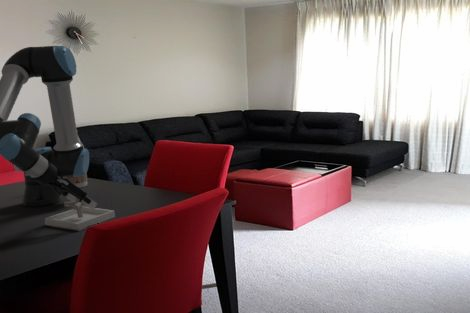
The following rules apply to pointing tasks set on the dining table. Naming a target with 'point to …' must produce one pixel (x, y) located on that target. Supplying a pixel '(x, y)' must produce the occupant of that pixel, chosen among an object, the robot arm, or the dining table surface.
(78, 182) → the fruit juice
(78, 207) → the pipe connector
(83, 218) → the tray
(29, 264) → the dining table surface
